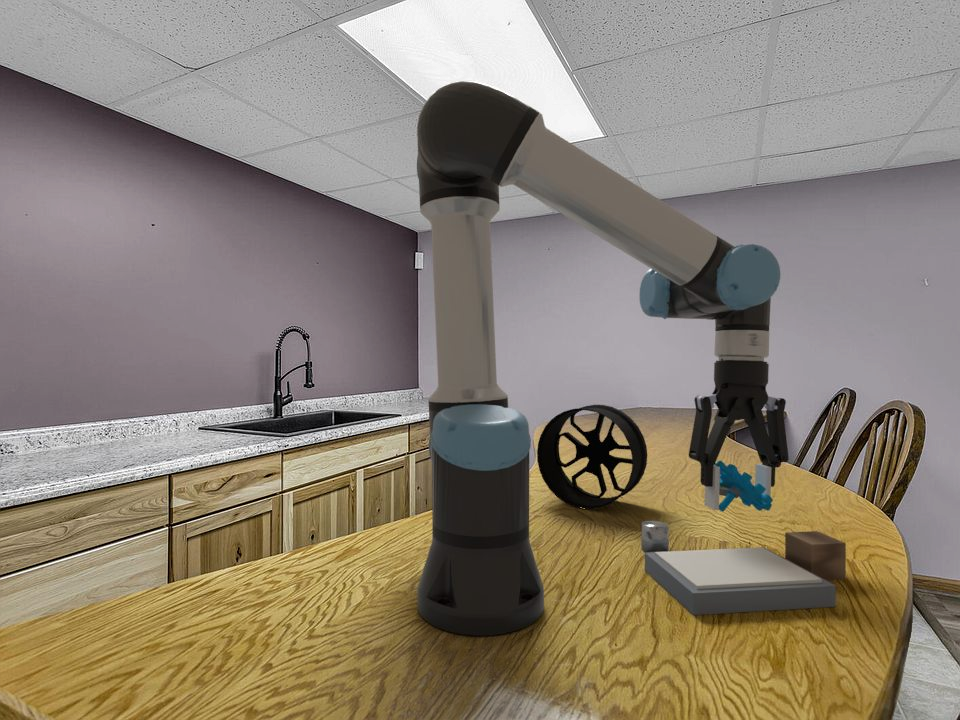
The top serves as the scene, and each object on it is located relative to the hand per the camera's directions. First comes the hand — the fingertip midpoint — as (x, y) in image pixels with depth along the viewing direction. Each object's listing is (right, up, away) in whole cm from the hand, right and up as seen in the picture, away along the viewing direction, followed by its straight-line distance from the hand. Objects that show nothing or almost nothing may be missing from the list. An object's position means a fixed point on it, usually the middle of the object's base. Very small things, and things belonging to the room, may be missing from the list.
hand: (736, 507), depth 81 cm
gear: (0, -1, 0) cm, 1 cm away
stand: (-7, -7, -13) cm, 16 cm away
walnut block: (+7, -7, -8) cm, 13 cm away
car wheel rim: (-17, -7, +27) cm, 33 cm away
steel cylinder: (-12, -7, +1) cm, 14 cm away
